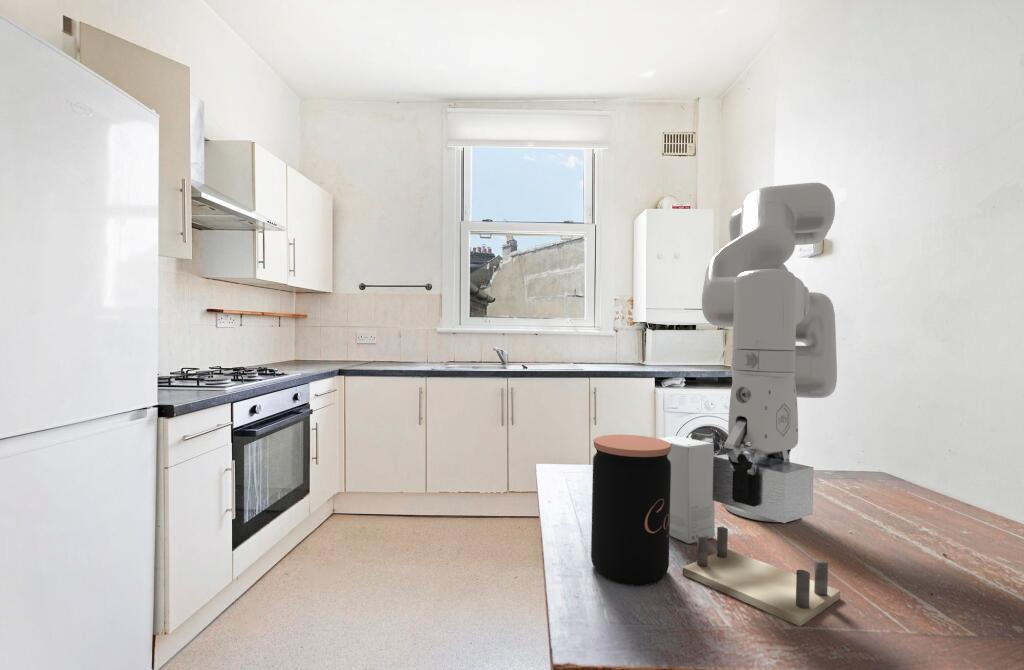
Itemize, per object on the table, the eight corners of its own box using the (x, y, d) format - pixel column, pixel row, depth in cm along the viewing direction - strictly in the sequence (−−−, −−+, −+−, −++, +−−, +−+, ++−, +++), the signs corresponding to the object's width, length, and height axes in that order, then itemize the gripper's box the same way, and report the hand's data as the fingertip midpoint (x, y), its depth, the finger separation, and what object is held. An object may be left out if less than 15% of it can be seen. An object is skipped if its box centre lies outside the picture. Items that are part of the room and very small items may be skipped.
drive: (712, 500, 71) (713, 454, 71) (741, 493, 75) (741, 450, 75) (784, 523, 63) (785, 471, 63) (812, 514, 66) (813, 465, 66)
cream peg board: (682, 574, 72) (683, 538, 72) (726, 555, 79) (726, 522, 79) (800, 626, 60) (801, 582, 60) (840, 598, 66) (841, 559, 66)
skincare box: (715, 538, 85) (717, 443, 85) (686, 546, 82) (689, 447, 82) (676, 521, 93) (678, 434, 92) (648, 528, 89) (650, 437, 89)
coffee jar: (655, 596, 66) (658, 454, 66) (578, 574, 72) (580, 443, 71) (677, 565, 75) (680, 440, 75) (607, 548, 81) (609, 431, 81)
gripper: (757, 366, 61) (753, 519, 61) (822, 364, 71) (819, 495, 71) (699, 362, 67) (696, 502, 67) (767, 361, 77) (764, 482, 77)
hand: (759, 497), depth 69 cm, fingers closed on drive, 6 cm apart
